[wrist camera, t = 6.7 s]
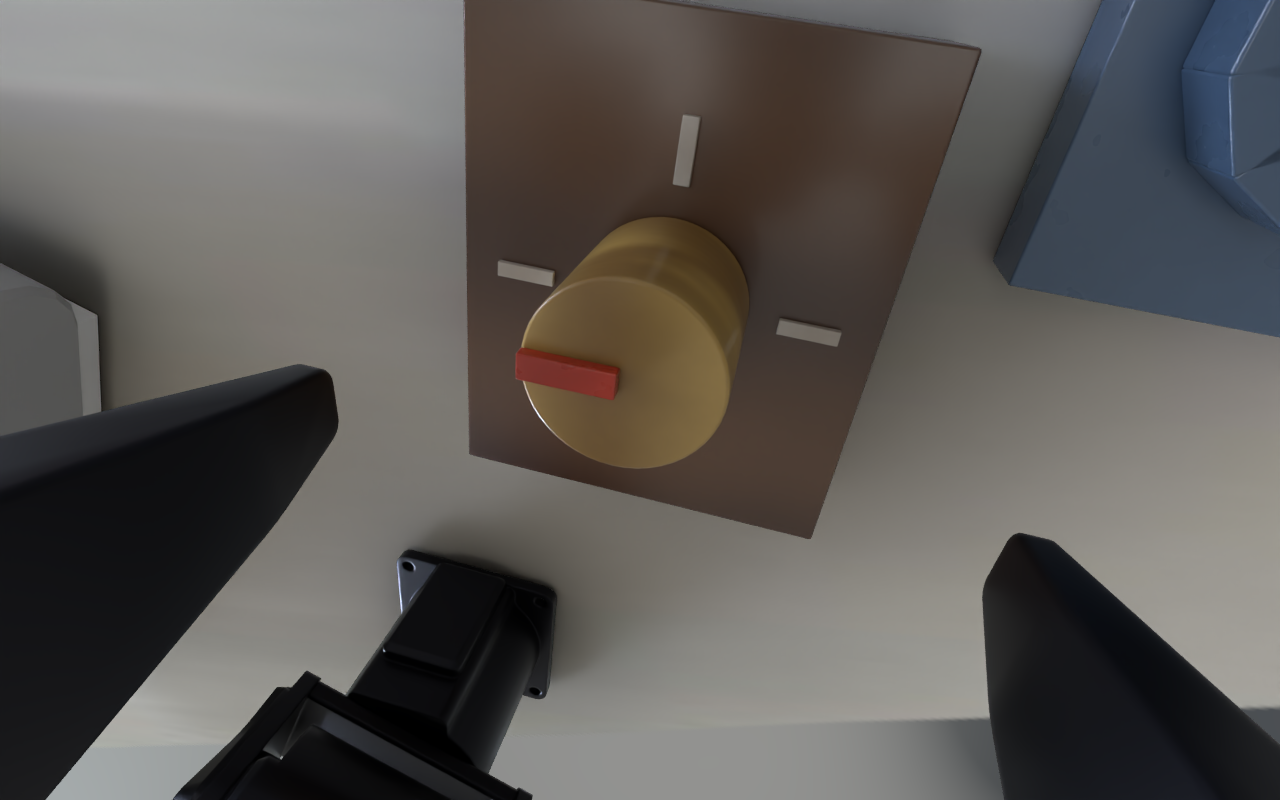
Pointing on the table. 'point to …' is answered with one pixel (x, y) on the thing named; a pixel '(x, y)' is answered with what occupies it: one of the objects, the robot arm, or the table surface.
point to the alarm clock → (44, 356)
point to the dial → (639, 345)
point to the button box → (1162, 168)
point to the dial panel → (702, 213)
